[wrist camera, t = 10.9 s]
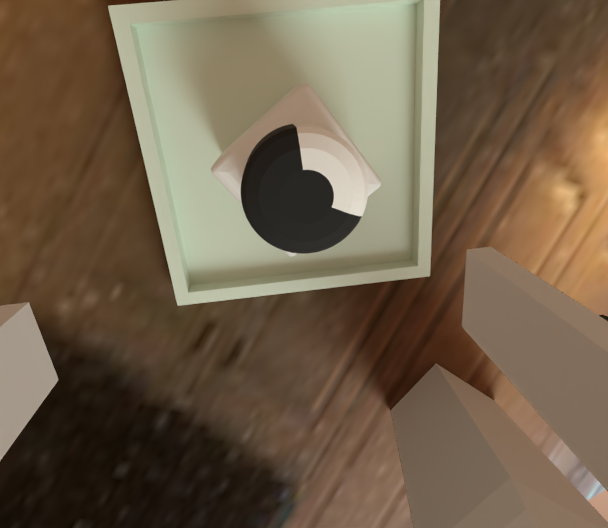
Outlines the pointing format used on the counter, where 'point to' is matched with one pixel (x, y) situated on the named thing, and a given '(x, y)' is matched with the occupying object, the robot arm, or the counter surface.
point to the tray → (262, 97)
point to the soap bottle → (478, 464)
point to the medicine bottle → (298, 175)
